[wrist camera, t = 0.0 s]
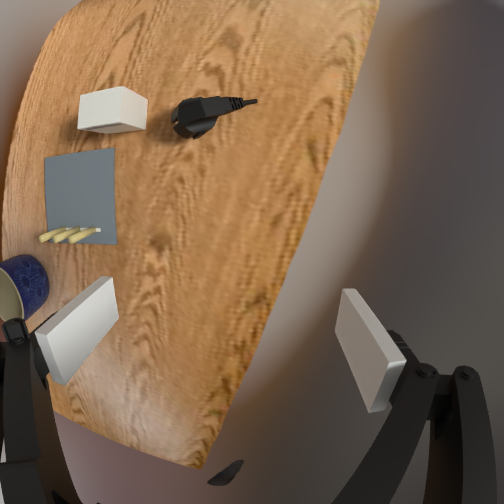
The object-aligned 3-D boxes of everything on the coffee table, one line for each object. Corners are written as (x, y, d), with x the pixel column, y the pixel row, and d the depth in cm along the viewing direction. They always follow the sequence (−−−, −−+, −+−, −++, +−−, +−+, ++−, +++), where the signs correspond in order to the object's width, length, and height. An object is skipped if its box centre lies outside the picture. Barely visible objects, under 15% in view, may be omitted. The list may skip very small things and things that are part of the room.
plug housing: (109, 105, 37) (80, 95, 28) (147, 99, 37) (123, 86, 28) (107, 134, 38) (77, 129, 30) (145, 130, 38) (119, 122, 30)
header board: (46, 158, 39) (20, 159, 32) (114, 147, 39) (90, 145, 32) (50, 241, 44) (26, 252, 37) (117, 244, 44) (95, 257, 37)
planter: (21, 294, 48) (-8, 314, 37) (16, 243, 44) (-18, 259, 34) (57, 310, 48) (28, 336, 38) (53, 256, 45) (18, 276, 34)
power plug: (265, 116, 37) (192, 131, 31) (237, 131, 43) (171, 149, 37) (252, 82, 35) (178, 92, 29) (226, 101, 42) (159, 115, 36)
